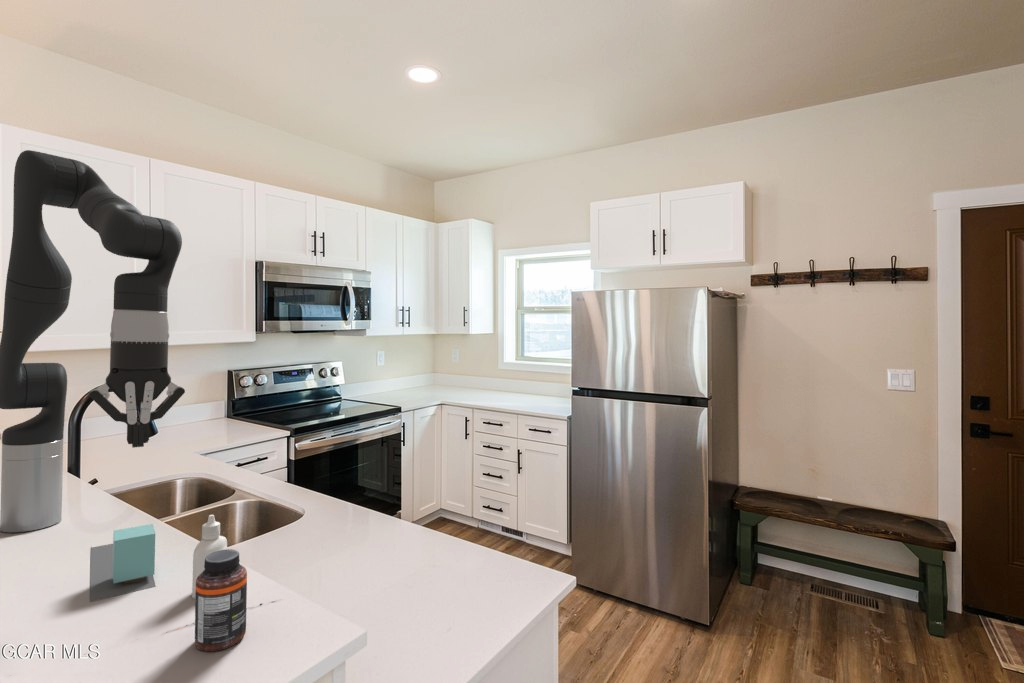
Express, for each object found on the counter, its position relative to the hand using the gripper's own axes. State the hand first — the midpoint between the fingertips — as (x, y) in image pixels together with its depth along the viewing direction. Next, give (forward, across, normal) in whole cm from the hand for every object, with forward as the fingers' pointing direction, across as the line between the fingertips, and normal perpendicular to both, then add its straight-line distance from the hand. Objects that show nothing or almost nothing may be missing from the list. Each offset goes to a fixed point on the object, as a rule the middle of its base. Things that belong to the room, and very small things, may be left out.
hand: (137, 446), depth 82 cm
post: (+21, 0, 0) cm, 21 cm away
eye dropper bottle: (+22, -9, +11) cm, 26 cm away
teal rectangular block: (+20, 0, 0) cm, 20 cm away
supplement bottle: (+22, -8, +26) cm, 35 cm away
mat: (+22, +2, -7) cm, 23 cm away
